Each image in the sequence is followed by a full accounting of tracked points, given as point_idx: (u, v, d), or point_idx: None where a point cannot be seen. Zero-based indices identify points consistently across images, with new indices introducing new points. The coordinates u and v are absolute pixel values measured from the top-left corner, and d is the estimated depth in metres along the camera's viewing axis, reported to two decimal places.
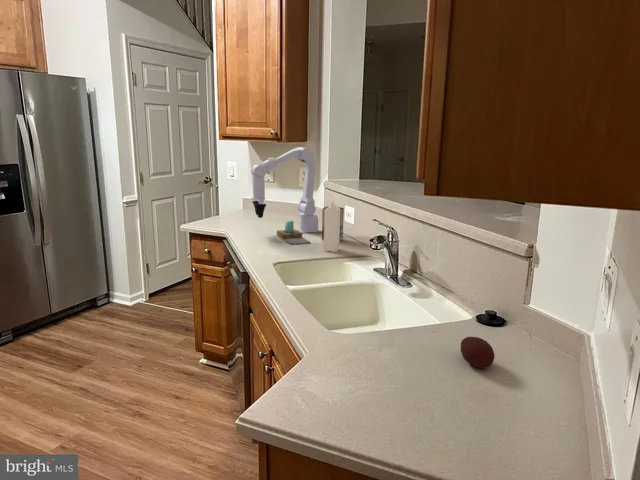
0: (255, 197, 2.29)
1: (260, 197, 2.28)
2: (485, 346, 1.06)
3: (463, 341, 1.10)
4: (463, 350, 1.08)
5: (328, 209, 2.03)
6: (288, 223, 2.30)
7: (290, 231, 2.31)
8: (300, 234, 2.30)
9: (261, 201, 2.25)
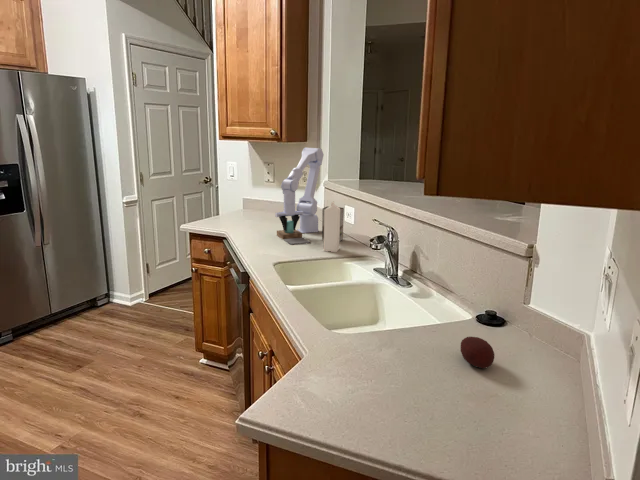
0: None
1: (284, 211, 2.29)
2: (485, 346, 1.06)
3: (463, 341, 1.10)
4: (463, 350, 1.08)
5: (328, 209, 2.03)
6: (288, 223, 2.30)
7: (290, 231, 2.31)
8: (300, 234, 2.30)
9: (276, 214, 2.27)
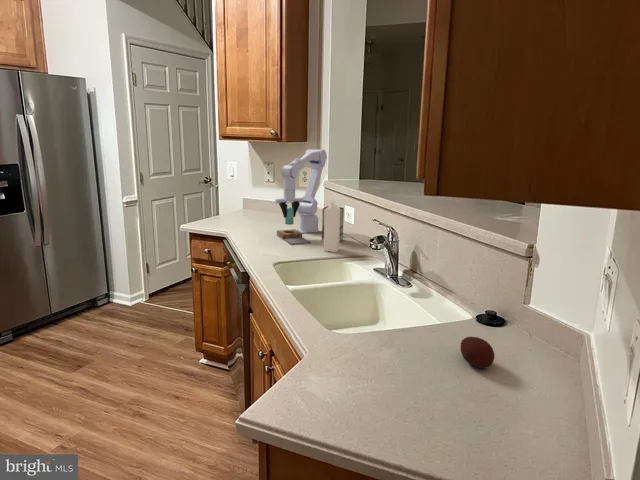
0: None
1: (284, 197, 2.27)
2: (485, 346, 1.06)
3: (463, 341, 1.10)
4: (463, 350, 1.08)
5: (328, 209, 2.03)
6: (288, 210, 2.29)
7: (290, 218, 2.30)
8: (300, 234, 2.30)
9: (276, 200, 2.26)
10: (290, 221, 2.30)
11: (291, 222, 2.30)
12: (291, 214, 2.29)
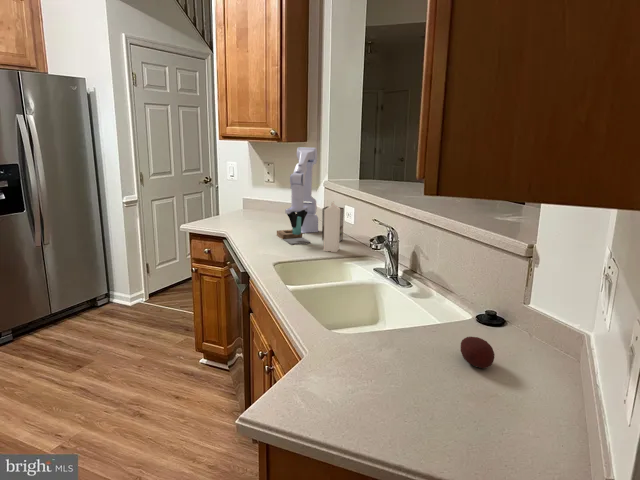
0: (291, 206, 2.20)
1: (293, 207, 2.18)
2: (485, 346, 1.06)
3: (463, 341, 1.10)
4: (463, 350, 1.08)
5: (328, 209, 2.03)
6: (297, 219, 2.19)
7: (299, 227, 2.21)
8: (300, 234, 2.30)
9: (287, 210, 2.15)
10: (299, 231, 2.21)
11: (300, 232, 2.22)
12: (300, 223, 2.21)
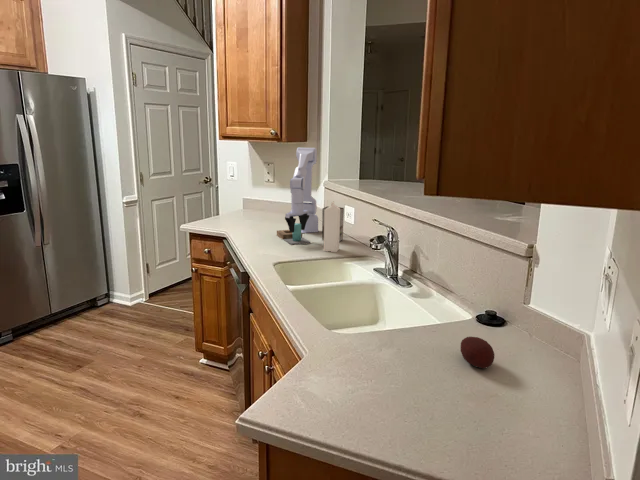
0: (291, 210, 2.20)
1: (293, 211, 2.18)
2: (485, 346, 1.06)
3: (463, 341, 1.10)
4: (463, 350, 1.08)
5: (328, 209, 2.03)
6: (297, 226, 2.20)
7: (299, 234, 2.22)
8: None
9: (287, 215, 2.15)
10: (299, 238, 2.22)
11: (300, 238, 2.23)
12: (300, 230, 2.22)
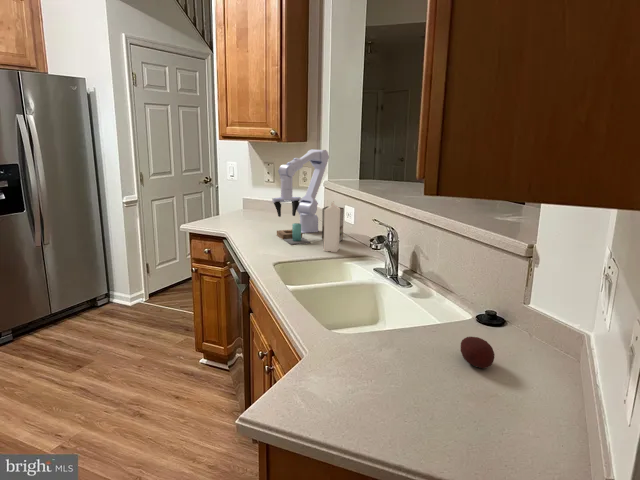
0: None
1: (281, 196, 2.29)
2: (485, 346, 1.06)
3: (463, 341, 1.10)
4: (463, 350, 1.08)
5: (328, 209, 2.03)
6: (297, 226, 2.20)
7: (299, 234, 2.22)
8: None
9: (272, 199, 2.27)
10: (299, 237, 2.22)
11: (300, 238, 2.23)
12: (300, 230, 2.22)
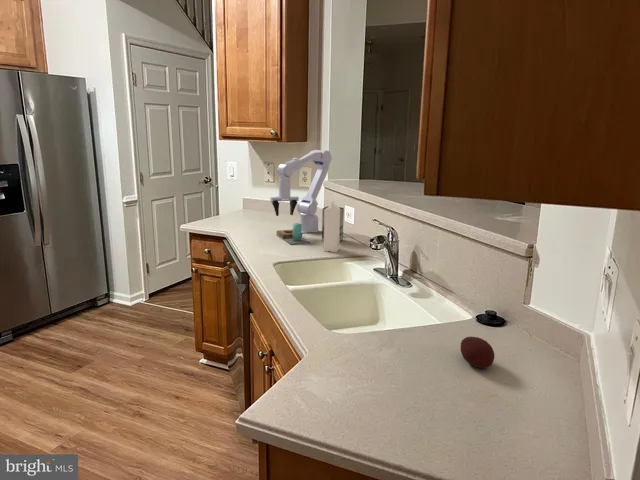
0: None
1: (279, 196, 2.31)
2: (485, 346, 1.06)
3: (463, 341, 1.10)
4: (463, 350, 1.08)
5: (328, 209, 2.03)
6: (297, 226, 2.20)
7: (299, 234, 2.22)
8: None
9: (270, 198, 2.29)
10: (299, 238, 2.22)
11: (300, 239, 2.23)
12: (300, 230, 2.22)
